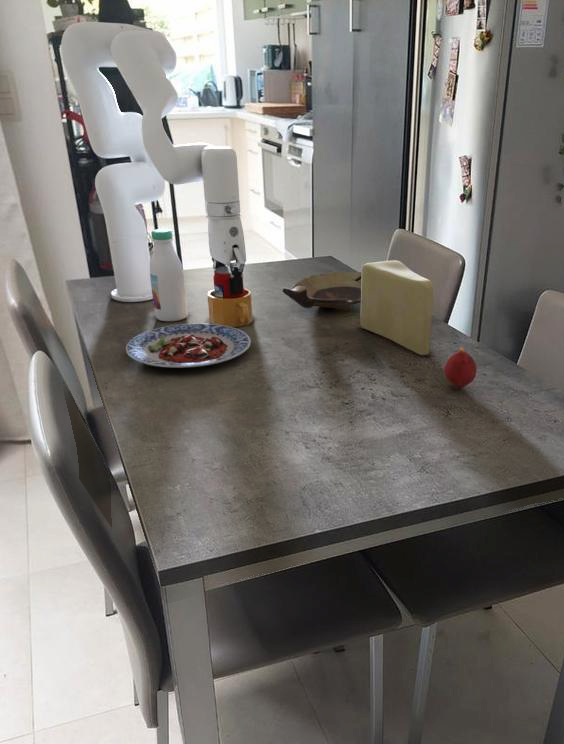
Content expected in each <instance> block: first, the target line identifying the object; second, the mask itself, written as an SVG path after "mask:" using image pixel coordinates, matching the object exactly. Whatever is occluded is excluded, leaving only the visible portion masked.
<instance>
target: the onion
mask: <svg viewBox="0 0 564 744" xmlns="http://www.w3.org/2000/svg"><path fill="white" fill-rule="evenodd" d="M477 368H478V367H477V364H476V362H475V360H474V358H473V357H472V356H471V355H470V354H469V353H467V351H466V350H465V349H464V348H463V347H459V348H458V351H457V352H455V353H454V354H452V355H451V356H450V357H449V358H448V360H446V363H445V366H444V376H445V378H446V380H447V381H448V382H449V383H450V384H451V385H452V386H453V387H454V388H455V389H456V390H460V389H462V388H464V387H466V386H468V385H470V384H472V382H473V381H474V379H475V377H476V375H477V372H478V371H477Z"/></svg>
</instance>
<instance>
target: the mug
mask: <svg viewBox="0 0 564 744" xmlns="http://www.w3.org/2000/svg"><path fill="white" fill-rule="evenodd" d="M207 307H208V318H209V324H218V325H224V326H229V327H233V328H236V327H242V326H248V325H250V324H251V323H253V318H254V316H253V299H252V291H251V290H249V289H248V288H245V287H244V296H243V297H239V298H234V299H221V298H215V290H214V289H212V290H210V291H208V292H207Z"/></svg>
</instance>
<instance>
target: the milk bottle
mask: <svg viewBox="0 0 564 744" xmlns="http://www.w3.org/2000/svg"><path fill="white" fill-rule="evenodd" d="M151 241H152V243H153V250H152V254H151V256H150V279H151V287H152V295H153V299H152V301H153V308H154V316H155V318H156V319H157V320H159V321H161V322H176V321H177V322H178V321H181V320H184V319H186V318H187V317H188V314H189V312H188V310H189V309H188V302H187V293H186V284H185V277H184V270H183V265H182V262H181V259H180V257H179V255H178V254H177V252H176V250H175V247H174V244H173V241H174V239H173V231H172V230H171V229H168V228H158V229H154V230H152V231H151Z"/></svg>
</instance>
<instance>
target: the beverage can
mask: <svg viewBox="0 0 564 744" xmlns="http://www.w3.org/2000/svg"><path fill="white" fill-rule="evenodd" d="M235 267H236V266H233V267H232V269H233V270H234V268H235ZM229 277H230V275H229V271H228V267H227V265H226V266H224V267H219V268H217V269H216V272H215V274H213V288H214V289H213V290H215V298H221V299H234V298H239V297H243V296H244V288H245V286H243V293H242V294H238V295H233V296H232V295H230V293H229V280H228V278H229ZM242 282H243V283H244V275H243V276H242Z"/></svg>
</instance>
